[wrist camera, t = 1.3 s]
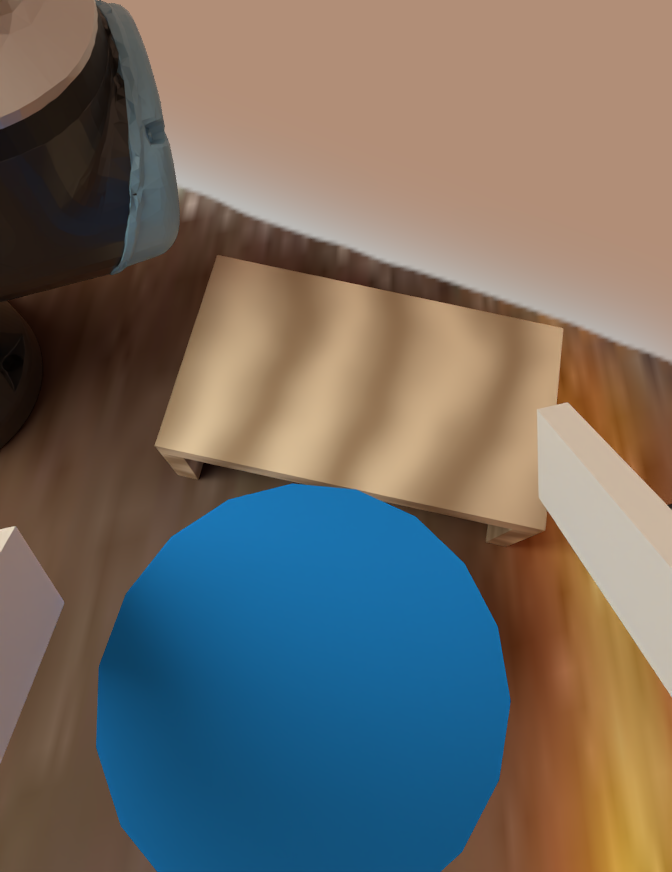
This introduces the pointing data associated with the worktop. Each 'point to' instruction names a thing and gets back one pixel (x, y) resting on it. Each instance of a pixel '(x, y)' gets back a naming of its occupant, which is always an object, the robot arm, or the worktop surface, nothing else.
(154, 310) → the worktop surface
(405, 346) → the stool
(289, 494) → the thermos
